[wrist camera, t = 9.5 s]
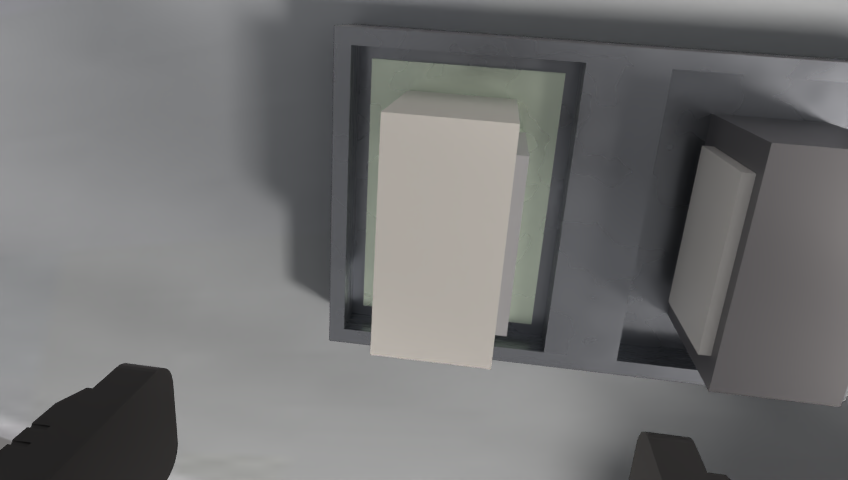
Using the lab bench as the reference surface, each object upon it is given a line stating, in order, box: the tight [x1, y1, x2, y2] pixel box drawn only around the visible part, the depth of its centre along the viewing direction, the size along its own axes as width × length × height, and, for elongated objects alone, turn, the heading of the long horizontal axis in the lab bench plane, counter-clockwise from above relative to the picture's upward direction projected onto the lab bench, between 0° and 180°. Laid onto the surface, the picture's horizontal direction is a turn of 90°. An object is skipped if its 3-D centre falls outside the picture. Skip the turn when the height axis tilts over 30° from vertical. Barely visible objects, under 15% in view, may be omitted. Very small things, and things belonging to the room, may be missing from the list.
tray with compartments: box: [329, 24, 848, 402], centre depth 24 cm, size 20×12×3 cm, turn 86°
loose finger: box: [370, 90, 529, 369], centre depth 22 cm, size 4×8×6 cm, turn 176°
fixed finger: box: [668, 113, 848, 407], centre depth 21 cm, size 4×8×6 cm, turn 176°
